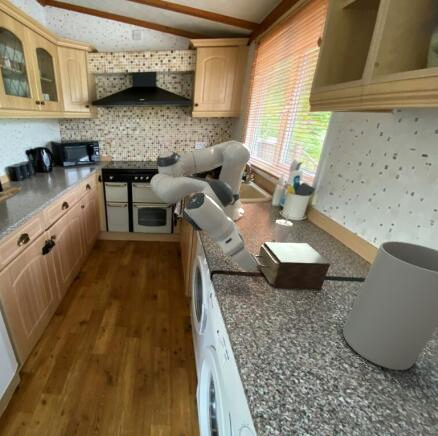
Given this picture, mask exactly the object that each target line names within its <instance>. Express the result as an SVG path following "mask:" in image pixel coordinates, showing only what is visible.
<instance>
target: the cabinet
mask: <svg viewBox="0 0 438 436" xmlns="http://www.w3.org/2000/svg"><path fill="white" fill-rule="evenodd" d="M263 245H265V246H266V248H267V249H268V250H269V251H270V252H271V253H272V254H273V255H274V257H275V258H276V259H277V260H278V261H279V263H280V264H279V268H278V272H277V275H276V279H275V283H274V284H271V285H272V286H273V288H275V289H277V288H278V289H302V290H303V289H305V290H307V289H308V290H322V288H323V285H324V283H325V280H326V277H327V274H328V272H329V269H330V266H331V262H329V261H328V260H327V259H326V258H325V257H323V256H322V255H321V254H320V253H319V252H317V250H315V249H314V248H313V247H312V246H311V245H309V243H306V242H285V243H276V242H274V241H272V242H271V241H270V242H269V241H264V243H263Z"/></svg>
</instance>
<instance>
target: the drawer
mask: <svg viewBox="0 0 438 436" xmlns="http://www.w3.org/2000/svg"><path fill="white" fill-rule="evenodd" d="M250 254H251V256H252V257H253V259H254V260H255V262H256V263H257V267H256V269H258V270H260V271H261V272H262V273H263V275H264V276H265V278H266V279H267V281H268V283H269V284H270V285H272V284H274V283H275V279H276V275H277V272H278V268H279V264H280V263H279V261H278V260H277V259H276V258H275V257H274V255H273V254H272V253H271V252H270V251H269V250H268V249H267V248H266V246H265V245H264V244H261V245H260V249H259V253H258V254H254V253H250Z"/></svg>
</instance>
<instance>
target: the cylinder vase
mask: <svg viewBox="0 0 438 436" xmlns="http://www.w3.org/2000/svg"><path fill="white" fill-rule="evenodd" d="M437 328H438V249H435V248H431V247H427V246H425V245H421V244H416V243H412V242H405V241H394V240H390V241H383V242H382V243H380V245H379V247H378V249H377V252H376V254H375V256H374V259H373V261H372V263H371V265H370V267H369V270H368V271H367V274H366V277H365V278H364V280H363V283H362V285H361V288H360V290H359V292H358V294H357V296H356V299H355V301H354V303H353V305H352V307H351V310H350V312H349V314H348V316H347V319H346V321H345V323H344V326H343V328H342V336H343V338H344V339H345V341H346V343H347V344H348V345H349V346H350V348H352V349H353V350H354V351H355V352H356V353H357V354H358V355H359V356H361V357H363V358H364V359H366V360H367V361H369V362H371V363H373V364H374V365H377V366H379V367H383V368H386V369H390V370H393V371H405V370H408V369H410V368H411V367H412V366H413V365H414V363H415V362H416V360H417V359H418V358H419V356H420V355H421V353H422V351H423V350H424V348H425V347H426V345H427V343H428V342H429V340H430V338H431V337H432V336H433V335H434V333H435V331H436V329H437Z"/></svg>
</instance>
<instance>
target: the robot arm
mask: <svg viewBox="0 0 438 436" xmlns="http://www.w3.org/2000/svg"><path fill="white" fill-rule="evenodd" d="M250 159H251V151H250V148H249V147H248V146H247V145H246V144H245V143H243V142H240V141H237V140H235V139H234V140H232V139H231V140H227V141H224V142H221V143H217V144H214V145H211V146H209V147H204V148H200V149H197V150H192V151H189V152H185V153H183V154H181V155H180V154H178V153H177V152H174V151H172V150H171V151H169V150H168V151H164V152H162V153H159V155H158V156H157V157H156V166H157V170H158V173H156V174H155V175H154V176H152V177H151V180H150V182H149V185H150V189H151V191H152V193H153V194H154V195H155V196H156V198H158V199H159V200H160V201H162V202H163V203H165V204H168V205H176V204H177V203H180V202H181V201H183V200H184V199H185V198H187V197H188V196H190V195H191V194H193V193H195V192H196V193H195V194H193V195H192V196H190V197H189V198H188V200H187V201H186V203H185V205H184V206H185V208H183V210H182V218H183V220H184V221H185V222H186V223H188V224H189V225H190V226H191V228H192V229H193V230H194V231H198V232H199V231H200V232H201V231H204V232H205V233H206V234H207V236H208V238H209V239H210V240H211V241H212V242H213V243H214V244H215V245H216V246H217V247H218V248H219V249H220V250H221V252H223V254H224V255H225V256H226V257H227V258H231V259H232V260H233V261H234V262H235V264H237V266H239V267H240V268H241V269H242V270H243V271H245V272H247V273H249V272H252V271H253V270H255V269H257V263H256V262H255V260H254V259H253V257H252V256H251V254H252V253H250V251H249V250H248V248H247V247H246V242H245V240H244V238H243V235H242V230H241V228H240V227H239V226H238V225H237V224H236V223H235V221H238V220H239V219H241V218H243V214H242V213H244V210H243V209H242V208H241V207H242V201H240V197H241V185H242V180H243V177H244V173H245V170H246V168H247V164H248V162H250ZM219 167H221V170H220V173H219V176H218V179H208V178H203V177H198V176H194V174H200V173H203V172H208V171H209V172H210V171H212V170H214V169H217V168H219Z"/></svg>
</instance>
